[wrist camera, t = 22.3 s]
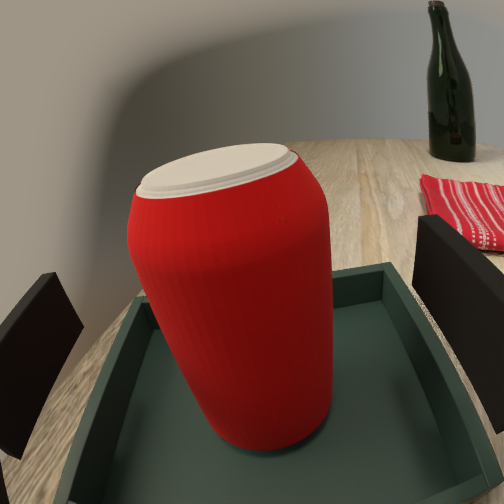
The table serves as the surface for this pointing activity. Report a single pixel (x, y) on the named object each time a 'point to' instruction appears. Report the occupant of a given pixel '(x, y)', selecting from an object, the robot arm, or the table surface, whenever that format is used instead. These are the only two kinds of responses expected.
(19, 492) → the table surface
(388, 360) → the drinks tray
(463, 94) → the wine bottle
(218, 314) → the beverage can
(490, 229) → the dish towel
